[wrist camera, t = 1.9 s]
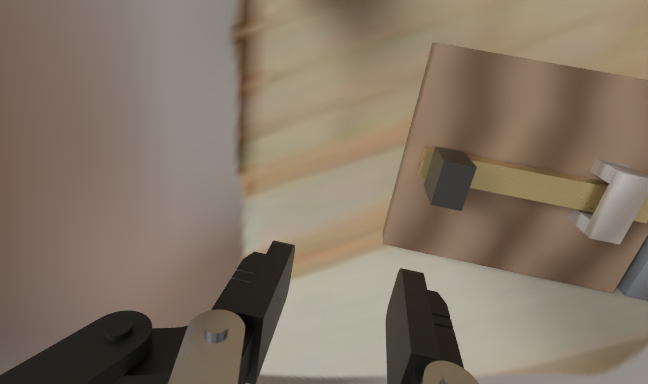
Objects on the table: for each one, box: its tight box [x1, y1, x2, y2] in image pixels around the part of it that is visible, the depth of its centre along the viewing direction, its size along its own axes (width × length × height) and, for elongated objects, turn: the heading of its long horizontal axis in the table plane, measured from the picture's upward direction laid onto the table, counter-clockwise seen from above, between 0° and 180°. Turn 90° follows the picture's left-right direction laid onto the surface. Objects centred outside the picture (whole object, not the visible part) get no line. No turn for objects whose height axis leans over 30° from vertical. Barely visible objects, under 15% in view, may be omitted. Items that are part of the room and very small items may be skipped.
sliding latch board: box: [383, 43, 648, 300], centre depth 26 cm, size 26×16×5 cm, turn 81°
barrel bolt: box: [417, 146, 648, 223], centre depth 24 cm, size 16×3×5 cm, turn 81°
